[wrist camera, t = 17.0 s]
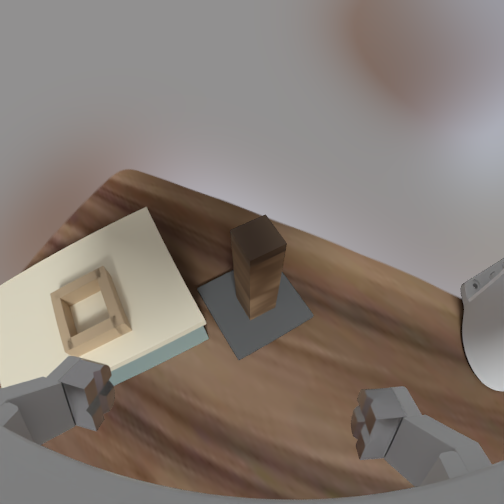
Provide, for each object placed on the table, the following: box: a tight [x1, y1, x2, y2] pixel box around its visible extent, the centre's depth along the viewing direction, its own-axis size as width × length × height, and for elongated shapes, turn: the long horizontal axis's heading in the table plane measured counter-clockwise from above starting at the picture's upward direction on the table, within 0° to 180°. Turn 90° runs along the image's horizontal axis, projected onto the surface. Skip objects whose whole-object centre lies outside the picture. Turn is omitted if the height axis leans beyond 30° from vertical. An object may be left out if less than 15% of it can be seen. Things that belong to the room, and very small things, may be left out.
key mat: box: [197, 270, 314, 360], centre depth 33 cm, size 9×9×1 cm
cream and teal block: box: [0, 207, 209, 388], centre depth 28 cm, size 23×15×8 cm, turn 121°
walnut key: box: [230, 215, 287, 320], centre depth 28 cm, size 3×3×12 cm
